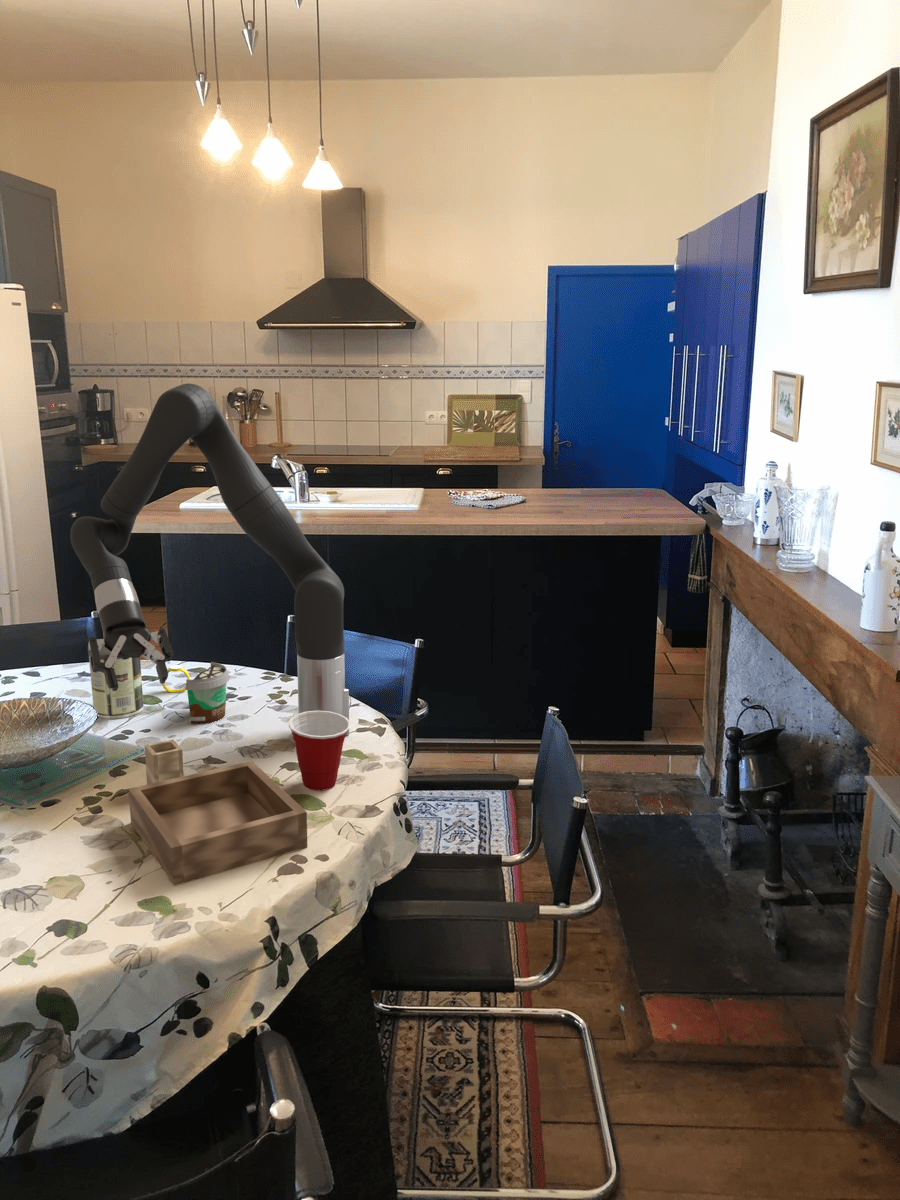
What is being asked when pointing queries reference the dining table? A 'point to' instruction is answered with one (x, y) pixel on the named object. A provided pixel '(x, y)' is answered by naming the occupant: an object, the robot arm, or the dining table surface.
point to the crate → (216, 821)
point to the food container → (208, 694)
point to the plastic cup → (319, 746)
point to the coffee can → (128, 692)
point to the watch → (175, 669)
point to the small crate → (163, 761)
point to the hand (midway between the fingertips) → (140, 685)
